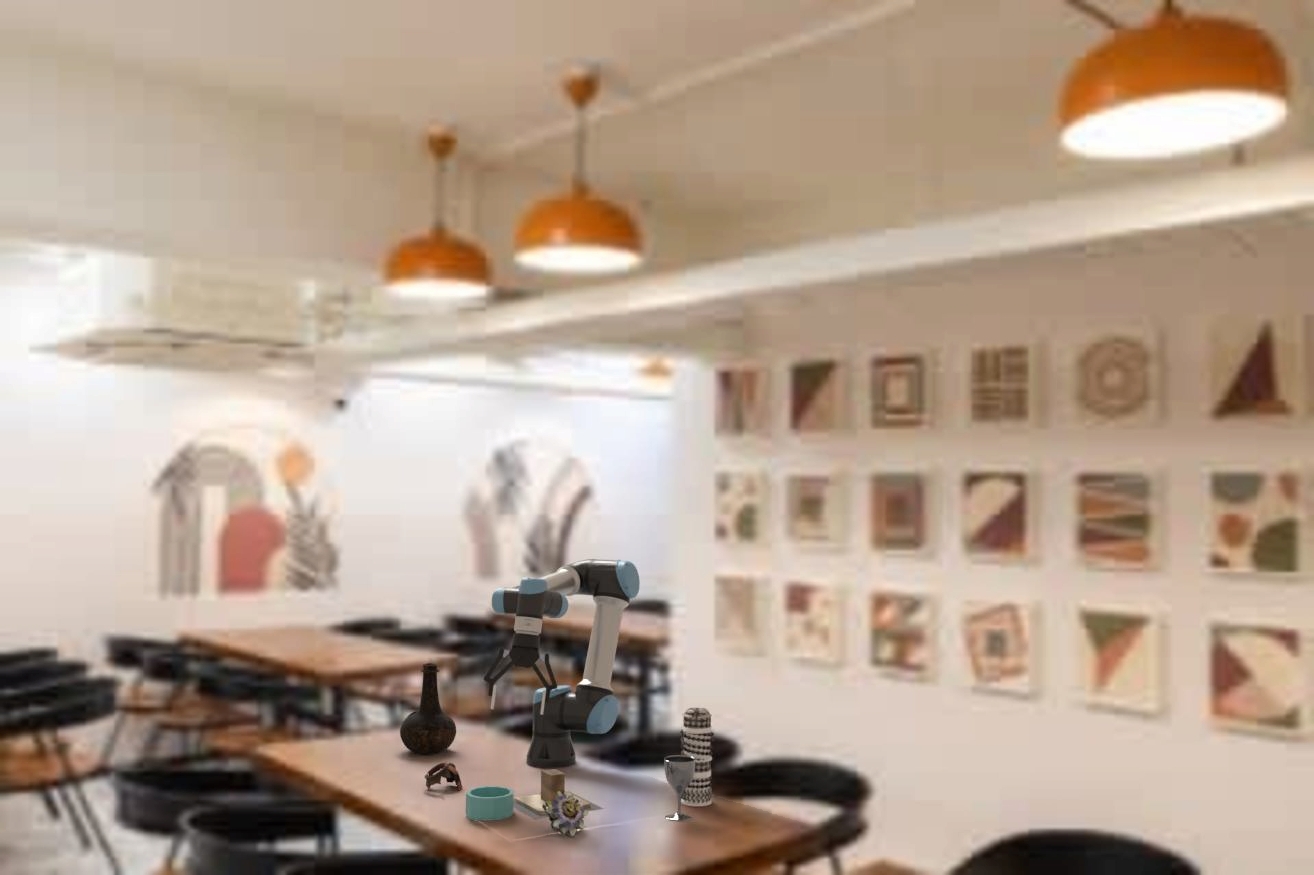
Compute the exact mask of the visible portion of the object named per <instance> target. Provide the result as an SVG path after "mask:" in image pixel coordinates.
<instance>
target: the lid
mask: <svg viewBox="0 0 1314 875" xmlns="http://www.w3.org/2000/svg"><path fill="white" fill-rule="evenodd" d="M540 774H541V775H540V793H539V794H533V795H525V796H518V797H514V799H515V802H516V803H518V804H520V805H522V806H524V807H525V808H527V809H529V810H531V811H533V812H534V813H536V814H538V815H544V814H547V813H545V812H544V811H545V810H544V809H543V807H542V805H543V804H544V805H546V803H545V802H546V801H548V802H552V801H553V800H555V799H556V797H557V791H560V792H561V794H562V795H563V796H564V795H566V797H567V798H568V796H570V795H571V794H570V793H568V792H567V791H566V789H565V788H566V786H565V785H566V779H565V778H566V774H565V773H564V772H562V771H560V770H558V769H557V768H556V769H555V768H551V769H544V770H543V769H542V770H541V771H540ZM574 798H575V800H576V799H578V801H579V802H578V803H583V809H584V808H591V804H590V803H588V802H586V801H584V800H582V799H580V798H578V797H576V796H574ZM575 800H574V801H575ZM552 804H553V802H552V803H551V804H548V805H549V807H551V806H552ZM546 809H548V807H546Z"/></svg>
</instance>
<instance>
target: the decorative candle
mask: <svg viewBox="0 0 1314 875" xmlns="http://www.w3.org/2000/svg"><path fill="white" fill-rule="evenodd" d="M682 716H683V725H682V729H681V731H679V734H680V736H682V737H681V738H680V740H679V742H680V743H681V744H680V748H681V749H682V750H681V752H680V755H685V756H691V757H694V758H695V771H694V776H693V780H692V782H691V783H690V784H689V786H688V787H687V788H686V789H685V790H684V792H683V794H682V798H681V805H683V806H684V805H685V806H689V807H706V806H710V805H711V804H712V802H713V801H712V797H713V794H712V793H713V789H712V785H713V783H712V780H713V776H712V769H711V761H712V760H713V757H712V755H713V754H714V752H713V751H712V750H713V749H714V746H713V745H712V744H711V743H712V742H714V738H713V737H714V736H715V733H714V732H713V731H712V728H713V726H712V724H711V723H712V717H713V715H712V714H711V713H710V711H709V710H708V709H707V708H705V707H704V708H703V707H690V708H687V709H686V711H685V712H684V713H682Z"/></svg>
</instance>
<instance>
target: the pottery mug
mask: <svg viewBox="0 0 1314 875" xmlns="http://www.w3.org/2000/svg"><path fill="white" fill-rule="evenodd" d="M424 778H425V780H426V781H425V786H426V788H428V789H430V788H431V787H432V786H435V785H436V784H439V785H441V784H442V783H441V780H442V778H444V779H445V780H446V783H450V784H451V783H452V784H453V783H454V782H455V786H456V785H457V786H456V787H457V790H458V791H459V790H460V791H461V790H462V789H463V785H462V780H461V776H460V774H459V771H458V770H457V767H456V766H455V764H454V763H452V762H449V763H448V762H446V761H444V762H440V763H438V764H436V765H434V766H433V767H432V768H430V769H429V770H428V771H427V773H426V774H425V775H424Z"/></svg>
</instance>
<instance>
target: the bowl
mask: <svg viewBox="0 0 1314 875" xmlns="http://www.w3.org/2000/svg"><path fill="white" fill-rule="evenodd" d="M514 799H515V790H513V789H512V788H511V787H507V786H506V787H505V786H500V785H488V786H487V785H485V786H476V787H473V788H471V789H470V788H469V789H468V790H467V791H466V794H465V817H466V819H468V818H469V819H470V820H469V819H468V820H469V821H472V820H477V821H481V822H480V823H483V821H499V820H504V819H508V818H510V817H512V816H513V815H514ZM477 821H476V822H477Z"/></svg>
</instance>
